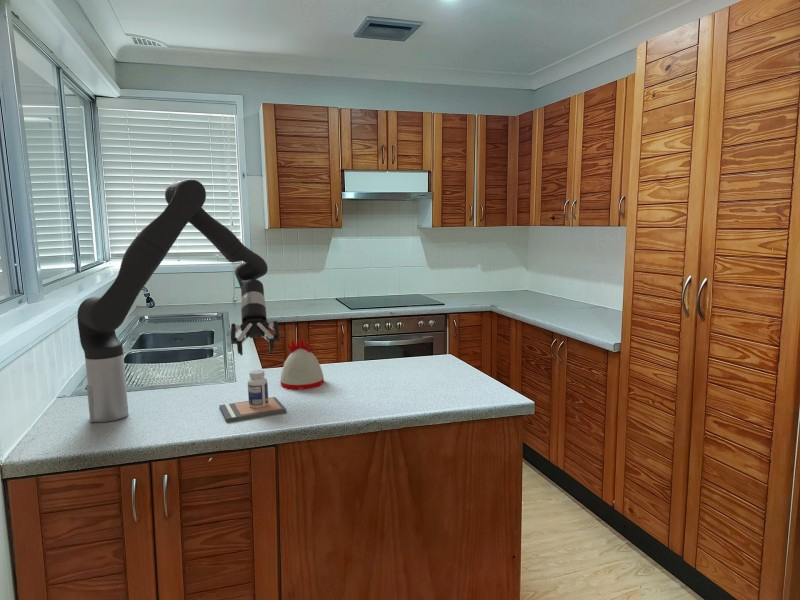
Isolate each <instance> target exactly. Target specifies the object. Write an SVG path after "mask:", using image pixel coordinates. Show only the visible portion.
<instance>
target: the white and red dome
mask: <svg viewBox="0 0 800 600" xmlns="http://www.w3.org/2000/svg"><path fill="white" fill-rule="evenodd" d="M287 346H288V349H289V350H290V353H289V355H288V357H287V358H286V359H285V360H284V361H283V367H282V370H281V373H280V374H281V375H280V387H281V386H282V388H283V389H285V388H286V389H285V390H290V389H292V390H293V391H302V390H310V389H311V390H312V389H315V388H319V387H321V386H323V385H324V383H325V381H324V373H323V370H322V367H321V364H320V362H319V360H318V358H317V357H316V356H315V354H314V353H312V350H313V345H311V347H310V348H309V341H307V342H306V344H305V340H304V338H302V339H301V343H300V339H299V338H298V339H297V341H296V343H295V341H294V339H291V344H289V343H288V342H287Z"/></svg>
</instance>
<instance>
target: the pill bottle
mask: <svg viewBox="0 0 800 600" xmlns="http://www.w3.org/2000/svg"><path fill="white" fill-rule="evenodd" d="M249 378H250V379H249V380H247V394H248V395H247V397H248V401H249V406H250V407H252V408H261V407H265V406H267V405H268V398H269V388H268V386H269V385H268V379H267V378H266V377H265V370H262V369H255V370H251V371H249Z"/></svg>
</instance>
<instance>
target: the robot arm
mask: <svg viewBox="0 0 800 600" xmlns="http://www.w3.org/2000/svg"><path fill="white" fill-rule="evenodd" d="M164 198H165V201H166V203H167V206H166V207H165V209H164V210H163V211H162V212H161V213H160V214H159V215H158V216H157V217H156V218H154V219H153V220H152V221H151V222H150V223H149V224H147V225H146V226H145V227H144V228H142V230H141V231H140V232H139V233H137V235H136V237H134V239H133V240H132V242H131V243H130V244H129V246H128V248H127V249H126V250H125V252H124V253H123V256H122V258H121V259H122V260H121V262H120V268H119V271H118V273H117V276H116V278H115V280H114V281H113V282H112V284H111V285H110V287H108V289H107V290H106V291H105V293H104V294H102V295H101V296H90V297H87V298H86V299H84V300H83V301H82V302H81V303H80V304H79V307H78V309H77V318H76V319H77V327H78V332H79V339H80V340H79V341H80V346H81V348H82V350H83V353H84V361H85V370H86V371H85V372H86V382H87V383H86V384H87V388H86V392H87V402H88V413H89V422H90V423H106V422H107V423H108V422H115V421H117V420H120V419H123V418H126V417H127V416H129V405H128V404H129V403H128V392H127V381H126V369H125V360H124V347H123V343H121V341H120V340H119V339H118V336H117V334H116V330H117V329H118V328H119V327H120V326H121V325H122V324H123V323H124V321H125V319H126V318H127V316H128V315H129V312H130V311H131V308H133V304H134V303H135V302H136V300H137V298H138V296H139V294H140V292H142V290H143V288H144V287H145V286H146V285H147V283H148V282H149V280H150V279H151V277H152V276H153V274H154V273H155V271H156V270H157V268H158V267H160V265H161V263H162V262H163V261H164V259H165V257H166V255H167V254H168V253H169V251H170V250H171V248H172V247H173V245H174V244H175V242H176V241H177V239H178V238H179V236H180V234H181V232H182V231H184V229H185V227H186V226H187V224H188V223H189V224H190V225H192V226H193V227H194V228H195V229H197V230H198V231H199V232H200V233H201V234H202V235H203V236H204V237H205V238H206V239H207V240H208V241H209V242H210V243H211V244H212V245H213V246H214V247H215V248H216V249H217V251H219V252H220V254H221V255H222V256H223V257H224V258H225V259H226V260H227V261H228V262H230V263H236V262H241V263H239V264H237V266H236V267H235V270H234V275H235V277H236V280H237V282H238V285H239V287H240V290H241V291H240V294H241V302H240V308H241V309H240V311H241V312H240V313H241V324H235V323H231V326H230V344H231V345H236V347H237V348H236V349H237V354H238V355H240V356H243V355H244V354H243V343H245V341H247V340H248V338H250V339H254V338H261V337H262V338H263V339H265V340H266V341H268V344H269V347H268V348H269V349H268V350H269V354H273V352H274V351H275V342H279V341H280V331H279V324H278V321H276V320H274V321H273V322H268V316H267V306H266V305H267V304H266V300H265V290H264V285H263V283H262V281H260V280H259V279H260V278H261V277H264V276H266V274H267V273H268V264H267V262H266V261H265V259H264V258H263V257H261V256H260V255H258V253H255V251H252V250H251V249H250V248H248V247H247V246H246V245H244V244H243V242H242V241H241V240H240V239H239V238H238V236H236V234H234V233H233V232H232V230H231V229H229V228H228V227H226V226H225V225H223V224H222V223H220V222H219V221H218V220H216V219H215V218H214V217H212V216H211V214H209V213H208V212H207V211H206V210H205V209H204V208H203V206H204V204H205V202H206V198H207V191H206V189H205V186H204V184H203V183H201V182H200V181H198V180H196V179H183V180H179V181H175V182H172V183H171V184H169V185H168V186H167V188H166V189H165V192H164ZM269 329H271V330H272V331H273V333H274V334H272V333H271V332H270V331H269ZM239 330H240V331H241V332H240V335H239V336H238V337H237V336H236V333H238V332H239Z"/></svg>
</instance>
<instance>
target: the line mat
mask: <svg viewBox="0 0 800 600" xmlns="http://www.w3.org/2000/svg"><path fill="white" fill-rule="evenodd" d="M218 405H219V407H218V408H219V411H220V412H221V415H222V416H223V418H224V421H225V422H226V423H231V422H238V421H242V420H243V421H244V420H249V419H250V420H251V419H256V418H261V417H268V416H274V415H275V416H276V415H281V414H287V408H286V407H285V406H284V405H283V404H282V403H281V401H280V400H279V399H278V398H277V397H276V396H272V397H268V405H267V406H265V407H261V408H252V407H250V406H249V400H245V401H239V402H234V403H233V402H232V403H225V404H224V403H223V404H218Z"/></svg>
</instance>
